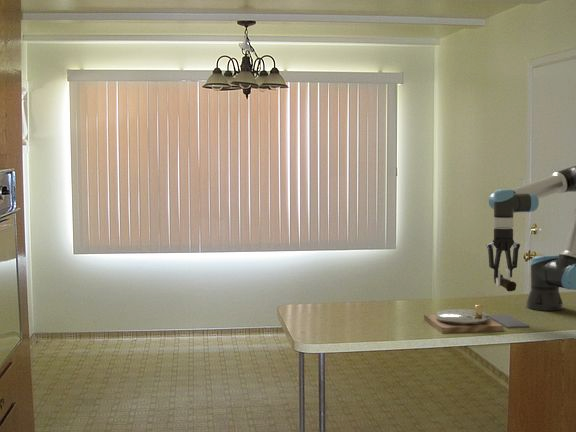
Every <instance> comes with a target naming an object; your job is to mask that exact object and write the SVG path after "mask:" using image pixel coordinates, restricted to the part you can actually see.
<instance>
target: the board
mask: <svg viewBox="0 0 576 432" xmlns="http://www.w3.org/2000/svg"><path fill="white" fill-rule="evenodd" d="M423 320H424V321H425V322H426V323H428V324H429V325H431V326H432V327H434V329H436V330H437V331H439V332H440V333H441V334H447V333H448V334H449V333H450V334H451V333H477V332H478V331H485V332H504V326H503V325H501V324H499V323H498V322H496V321H494V320H492V319H491V318H489V317H488V322H486V323H482V324H472V325H462V324H451V323H445V322H441V321H439V320H437V313H436V314H423ZM478 333H479V332H478Z"/></svg>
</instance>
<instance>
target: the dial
mask: <svg viewBox="0 0 576 432" xmlns="http://www.w3.org/2000/svg"><path fill="white" fill-rule="evenodd" d="M474 307H475V309H465V308H464V309H463V308H462V309H461V308H453V309H452V308H451V309H450V308H449V309H443V310H439V311H437V312H436V314H437V320H439V321H441V322H445V323H451V324H462V325H472V324H482V323H486V322H488V315H489V314H488V313H487V312H484V311H483V304H475V306H474Z"/></svg>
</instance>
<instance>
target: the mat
mask: <svg viewBox="0 0 576 432" xmlns="http://www.w3.org/2000/svg"><path fill="white" fill-rule="evenodd" d="M488 317H489V318H490V319H492V320H494V321H496V322H497V323H499V324H501V325H503V327H505V328H507V329H514V328H515V329H517V328H520V329H521V328H522V329H523V328H530V325H529V324H527V323H525V322H523V321H521V320H519V319H517V318H515V316H514V317H513V316H512V315H510V314H508V313H507V314H505V313H504V314H488Z"/></svg>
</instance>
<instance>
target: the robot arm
mask: <svg viewBox="0 0 576 432" xmlns="http://www.w3.org/2000/svg"><path fill="white" fill-rule="evenodd" d="M569 192H572V193H573V192H574V193H575V192H576V165H574V166H570V167H567V168H565V169H562V170H561V169H560V170H559V171H555V172H553V173H552V174H551V176H547V177H545V178H542V179H538V180H535V181H533V182H529V183H526V184H524V185H519V186H518V187H514V188H512V189H511V188H510V189H508V188H507V189H506V188H504V189H503V188H502V189H500V188H499V189H496V190H495V191H494V192H493V193H491V194H490V195H489V197H488V204H489V207H490V208H491V209H492V210H493V226H494V227H495V228H493V239H492V242H490V243H487V244H486V248H487V252H488V253H487V254H488V266H489V268H490V269H493V278H494V277H495V278H496V284H495V286H497V287H501V286H500V274H501V269H499V267H500V263H501V257H502V253H503V251H504V253H505V258H506V259H505V260H506V265H507V266H506V267H507V268H506V269H505V279H507V280H510V281H511V278H513V270H514V269H517V268H518V261H519V260H518V259H519V249H520V247H521V244H520V243H517V242H515V240H514V229H513V228H514V213H530V212H535V211H536V210H537V209H538V208H539V202H540V201H539V199H542V198H544V197H548V196H551V195H553V194H557V193H558V194H564V193H569ZM574 210H575V211H574V214H573V217H572V221H571V224H570V229H569V231H568V235H567V239H566V242H565V245H564V249H563V251H562V252H560V253H559V254H557V255H556V254H555V255H554V254H552V255H551V254H550V255H537V256H533V257H532V258H531V262H530V263H531V264H530V290H529V294H528V297H527V300H526V307H527V308H528V309H531V310H535V311H545V312H546V311H547V312H548V311H550V312H551V311H552V312H553V311H561V310H563V309H564V304H563V300H562V297H561V294H560V288H562V289H566V290H572V291H576V209H574ZM494 247H495V258H494ZM512 247H513V248H512ZM511 248H512V249H513V250H512V252H511ZM511 253H512V255H511Z"/></svg>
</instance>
